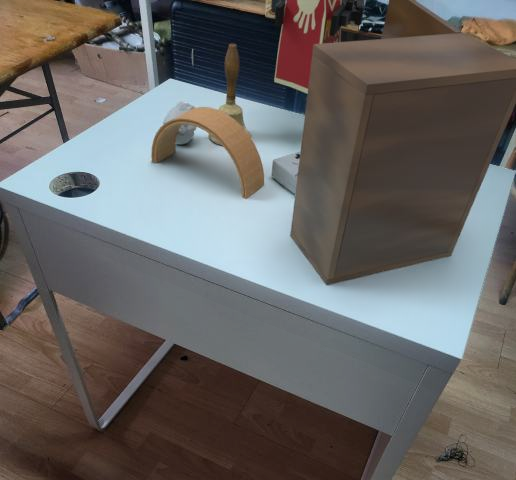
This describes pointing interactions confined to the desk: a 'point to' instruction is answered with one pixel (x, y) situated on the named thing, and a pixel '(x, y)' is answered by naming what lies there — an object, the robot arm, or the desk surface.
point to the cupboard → (396, 149)
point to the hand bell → (231, 89)
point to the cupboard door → (413, 21)
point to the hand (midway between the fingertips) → (305, 21)
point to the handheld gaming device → (286, 170)
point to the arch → (223, 132)
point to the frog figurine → (185, 130)
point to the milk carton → (303, 39)
